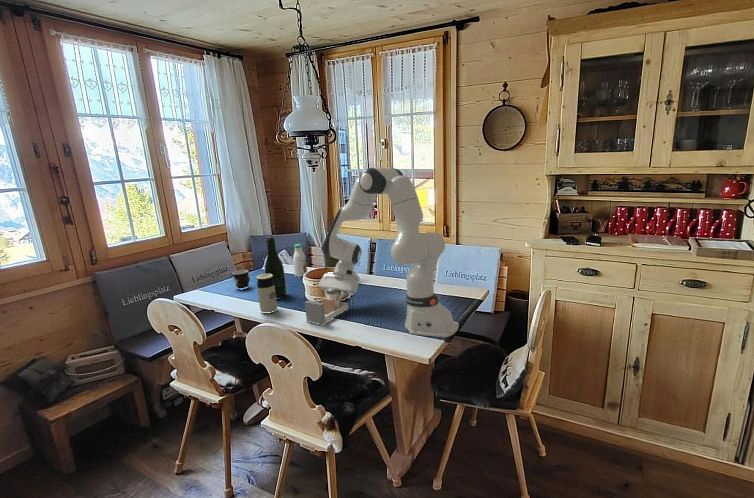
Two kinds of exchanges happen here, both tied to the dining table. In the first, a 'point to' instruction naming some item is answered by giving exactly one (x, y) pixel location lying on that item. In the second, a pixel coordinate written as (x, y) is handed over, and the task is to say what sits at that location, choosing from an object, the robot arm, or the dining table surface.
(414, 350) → the dining table surface
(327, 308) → the spring pusher
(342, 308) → the pusher lane
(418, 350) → the dining table surface
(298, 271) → the milk bottle
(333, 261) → the canister
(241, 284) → the coffee mug
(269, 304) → the travel mug
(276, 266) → the wine bottle
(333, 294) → the jar
